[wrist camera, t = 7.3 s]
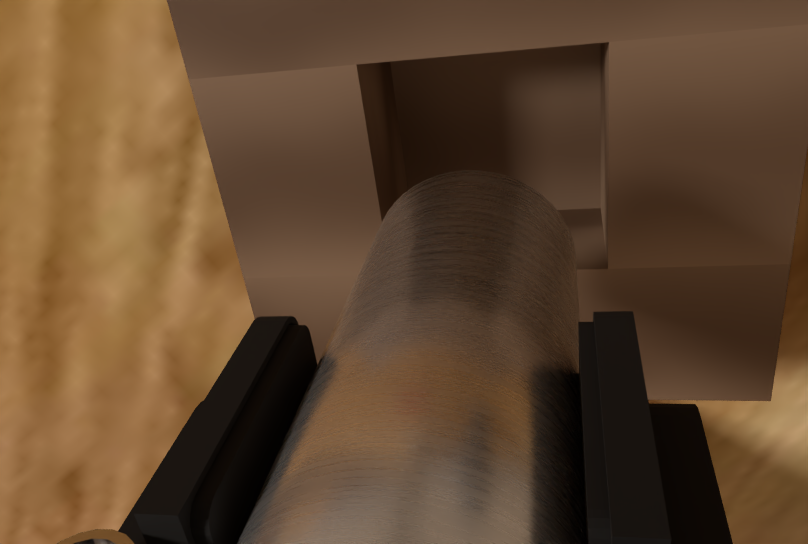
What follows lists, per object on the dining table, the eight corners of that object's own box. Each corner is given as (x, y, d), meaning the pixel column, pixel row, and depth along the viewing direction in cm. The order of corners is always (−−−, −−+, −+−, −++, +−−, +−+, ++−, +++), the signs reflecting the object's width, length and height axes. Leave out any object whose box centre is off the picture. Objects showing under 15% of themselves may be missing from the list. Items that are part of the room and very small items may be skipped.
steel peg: (360, 176, 14) (-132, 1033, 4) (574, 164, 13) (643, 1215, 3) (389, 346, 16) (104, 1220, 6) (578, 346, 15) (625, 1363, 5)
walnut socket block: (223, -128, 20) (135, -116, 16) (785, -213, 17) (861, -227, 13) (319, 306, 27) (276, 395, 23) (732, 299, 24) (770, 400, 20)
